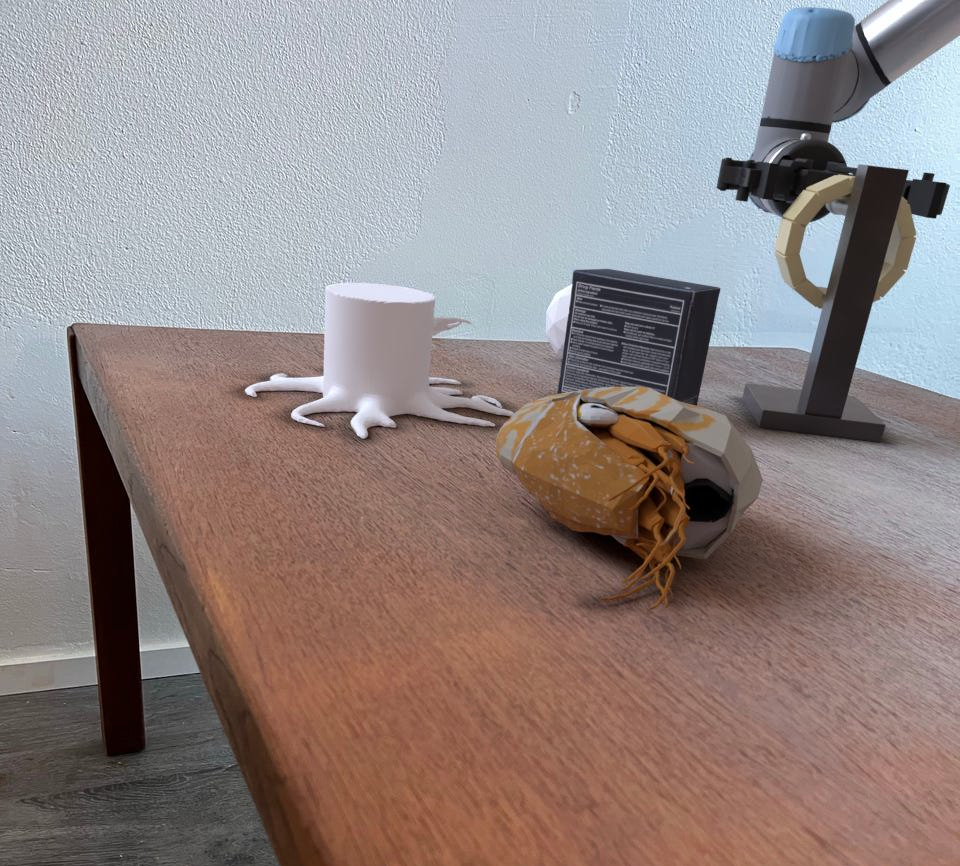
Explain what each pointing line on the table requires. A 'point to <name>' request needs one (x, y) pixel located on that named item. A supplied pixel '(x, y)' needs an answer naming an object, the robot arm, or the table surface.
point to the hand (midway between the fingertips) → (853, 191)
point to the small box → (637, 333)
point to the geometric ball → (558, 319)
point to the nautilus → (634, 471)
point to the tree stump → (380, 360)
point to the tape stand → (840, 320)
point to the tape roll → (805, 212)
